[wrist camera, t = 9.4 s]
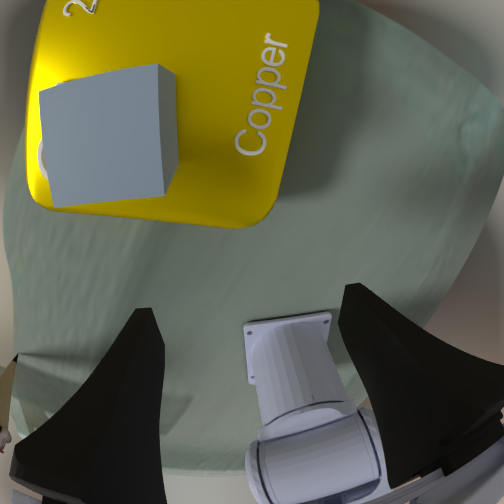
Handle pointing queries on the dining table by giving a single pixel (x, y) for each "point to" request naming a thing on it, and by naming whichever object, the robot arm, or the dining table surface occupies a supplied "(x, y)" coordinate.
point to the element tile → (188, 95)
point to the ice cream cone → (6, 401)
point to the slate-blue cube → (110, 136)
